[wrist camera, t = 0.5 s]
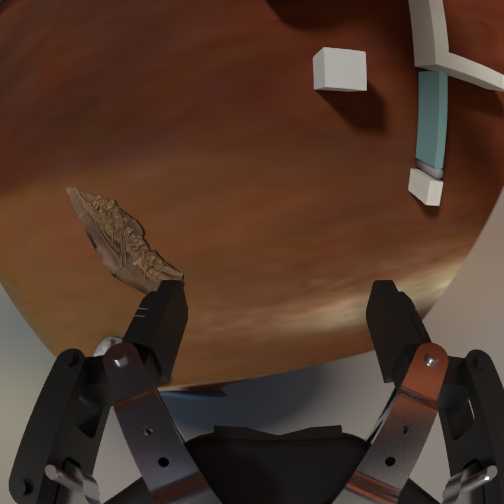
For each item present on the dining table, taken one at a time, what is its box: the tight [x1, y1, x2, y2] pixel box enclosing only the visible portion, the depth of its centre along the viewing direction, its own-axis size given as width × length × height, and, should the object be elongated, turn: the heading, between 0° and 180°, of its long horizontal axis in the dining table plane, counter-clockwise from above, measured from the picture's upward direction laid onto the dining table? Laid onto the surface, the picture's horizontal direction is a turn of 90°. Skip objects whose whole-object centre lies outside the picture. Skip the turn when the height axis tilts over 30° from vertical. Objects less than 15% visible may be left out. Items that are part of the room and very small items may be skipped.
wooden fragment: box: [66, 187, 183, 295], centre depth 40 cm, size 26×11×1 cm, turn 34°
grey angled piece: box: [408, 0, 504, 206], centre depth 23 cm, size 28×13×5 cm, turn 3°
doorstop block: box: [313, 47, 367, 92], centre depth 24 cm, size 4×4×7 cm
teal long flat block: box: [415, 71, 448, 179], centre depth 25 cm, size 13×2×5 cm, turn 3°
